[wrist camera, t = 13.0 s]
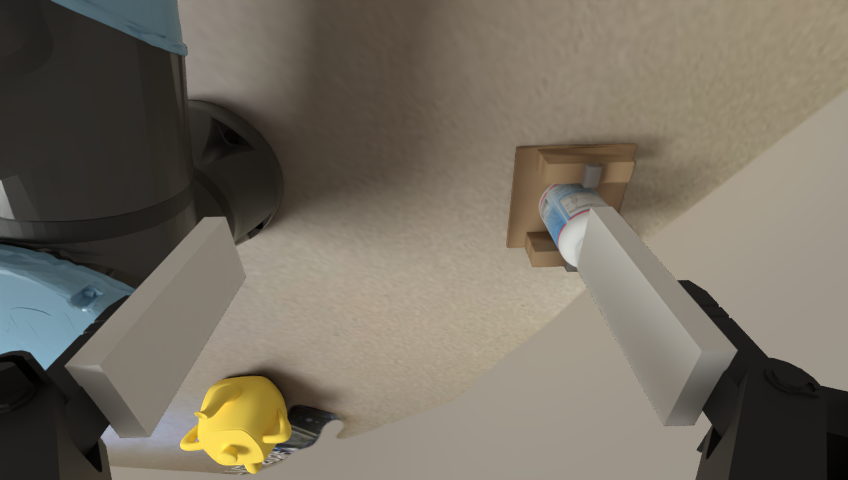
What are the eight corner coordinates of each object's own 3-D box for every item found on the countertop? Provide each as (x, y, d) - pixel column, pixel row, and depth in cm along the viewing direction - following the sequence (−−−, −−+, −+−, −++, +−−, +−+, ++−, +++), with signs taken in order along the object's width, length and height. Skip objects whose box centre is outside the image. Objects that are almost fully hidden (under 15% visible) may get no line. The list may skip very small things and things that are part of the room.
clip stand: (506, 244, 47) (515, 273, 42) (516, 146, 40) (529, 168, 36) (607, 242, 47) (629, 271, 42) (634, 143, 40) (662, 164, 35)
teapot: (192, 394, 62) (154, 460, 53) (228, 350, 56) (193, 416, 48) (271, 426, 66) (249, 492, 58) (311, 389, 61) (293, 455, 52)
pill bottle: (567, 233, 45) (606, 299, 36) (526, 209, 44) (555, 272, 34) (606, 192, 42) (659, 252, 33) (563, 165, 41) (606, 219, 31)
